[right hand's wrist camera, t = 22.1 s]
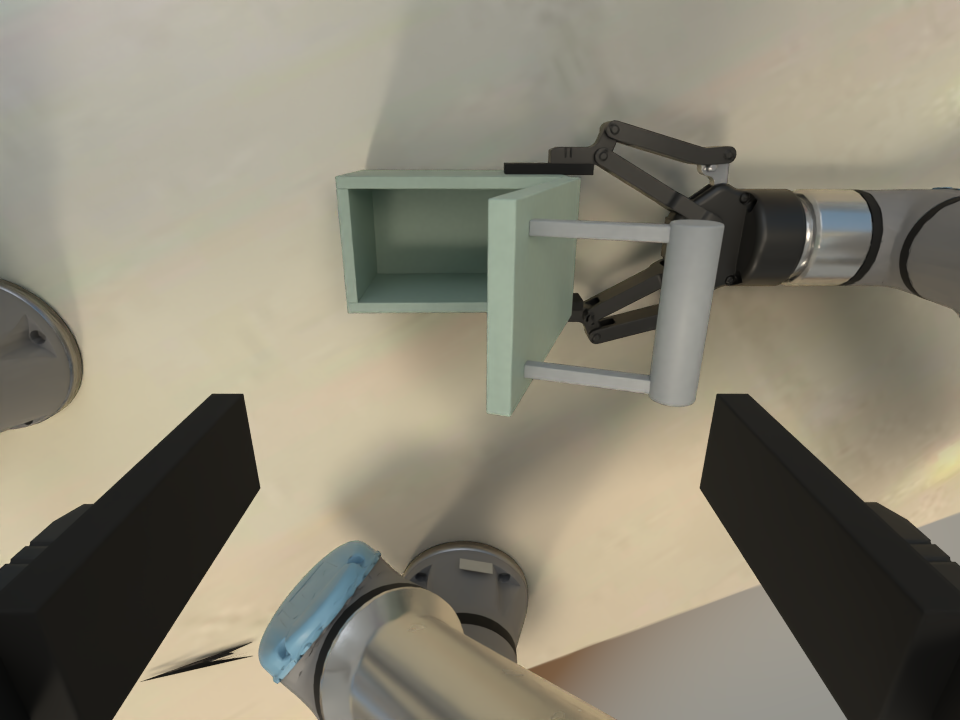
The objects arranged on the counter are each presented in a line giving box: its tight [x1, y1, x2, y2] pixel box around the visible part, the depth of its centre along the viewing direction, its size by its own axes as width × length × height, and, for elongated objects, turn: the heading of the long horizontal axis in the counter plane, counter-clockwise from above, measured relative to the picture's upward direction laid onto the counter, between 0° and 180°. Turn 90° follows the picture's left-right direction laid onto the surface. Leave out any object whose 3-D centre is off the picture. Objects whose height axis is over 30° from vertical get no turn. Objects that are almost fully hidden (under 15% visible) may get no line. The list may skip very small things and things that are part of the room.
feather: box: [141, 642, 252, 682], centre depth 69 cm, size 2×28×2 cm
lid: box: [486, 177, 724, 417], centre depth 30 cm, size 17×10×9 cm
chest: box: [335, 170, 569, 313], centre depth 44 cm, size 16×10×11 cm, turn 90°
